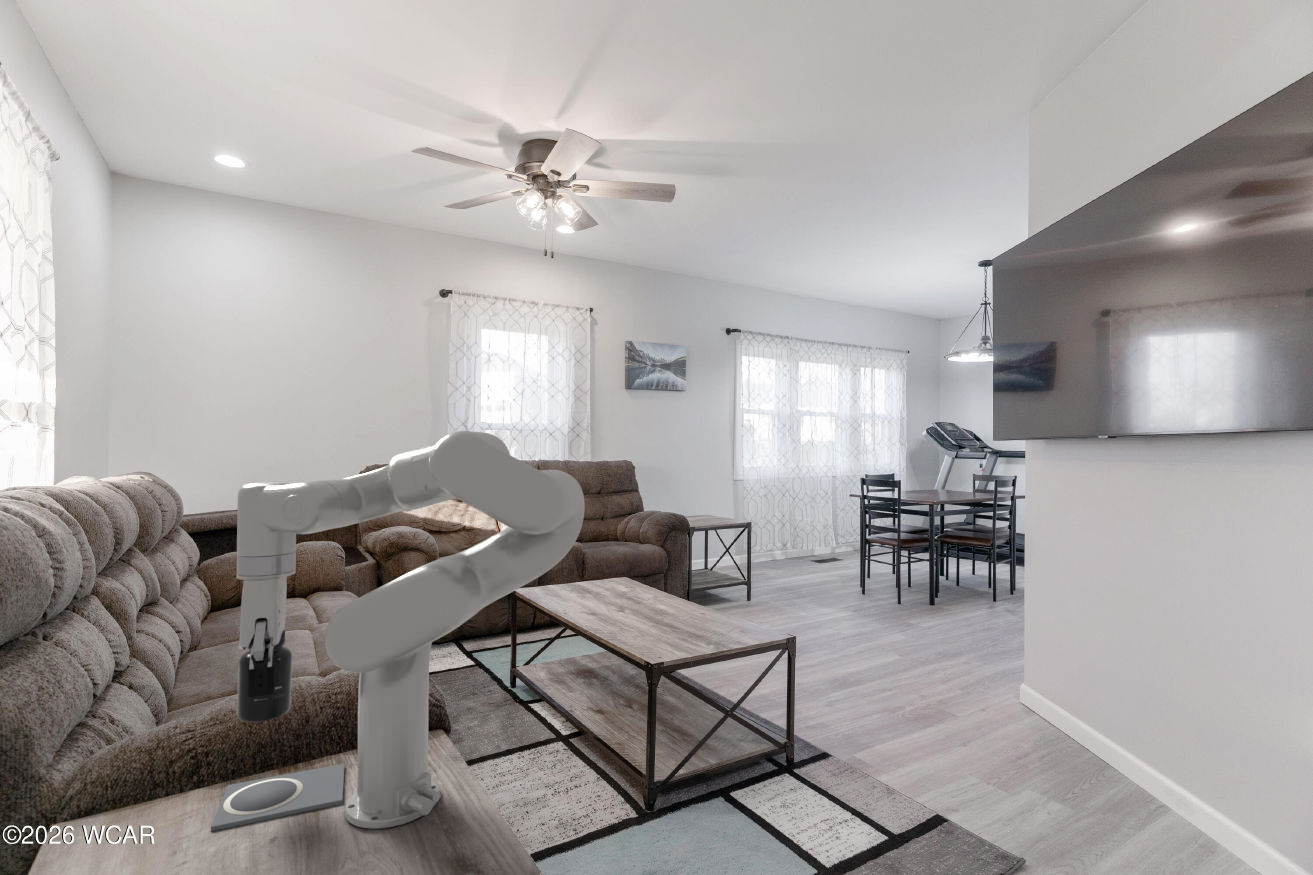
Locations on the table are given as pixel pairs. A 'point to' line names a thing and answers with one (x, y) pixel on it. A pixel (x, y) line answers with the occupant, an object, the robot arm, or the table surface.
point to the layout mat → (280, 796)
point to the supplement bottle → (267, 704)
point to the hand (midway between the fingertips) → (265, 685)
